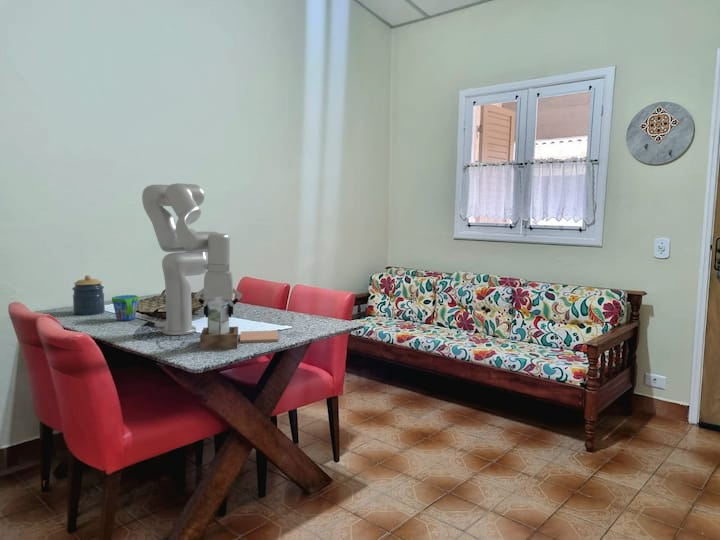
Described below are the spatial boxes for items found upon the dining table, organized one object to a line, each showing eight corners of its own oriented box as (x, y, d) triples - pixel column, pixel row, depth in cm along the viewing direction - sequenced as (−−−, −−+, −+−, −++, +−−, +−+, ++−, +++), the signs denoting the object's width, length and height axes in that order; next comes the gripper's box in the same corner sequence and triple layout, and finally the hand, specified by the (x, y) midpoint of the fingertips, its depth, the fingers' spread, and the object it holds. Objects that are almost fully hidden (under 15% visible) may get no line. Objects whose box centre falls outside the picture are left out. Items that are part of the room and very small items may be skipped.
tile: (239, 342, 186) (239, 340, 185) (240, 333, 199) (240, 331, 199) (278, 341, 188) (278, 338, 188) (276, 332, 202) (276, 330, 202)
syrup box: (229, 332, 185) (230, 293, 183) (220, 336, 180) (220, 296, 178) (216, 330, 187) (216, 292, 185) (206, 334, 181) (206, 294, 180)
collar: (200, 349, 176) (200, 335, 175) (203, 340, 188) (203, 327, 187) (237, 348, 178) (237, 334, 178) (238, 339, 190) (238, 326, 190)
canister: (78, 310, 240) (76, 273, 238) (107, 309, 243) (106, 273, 241) (69, 316, 228) (67, 277, 226) (101, 315, 231) (99, 276, 229)
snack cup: (111, 317, 226) (110, 294, 225) (136, 315, 231) (135, 293, 230) (114, 324, 213) (113, 300, 211) (141, 321, 218) (140, 298, 217)
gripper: (191, 269, 175) (192, 319, 177) (243, 269, 178) (243, 318, 181) (194, 266, 182) (194, 314, 184) (243, 267, 186) (243, 314, 188)
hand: (218, 316), depth 182 cm, fingers closed on syrup box, 7 cm apart
